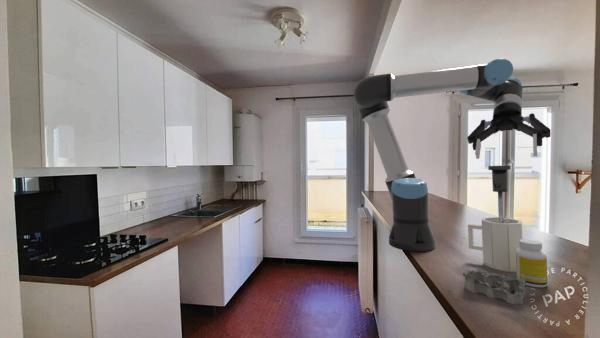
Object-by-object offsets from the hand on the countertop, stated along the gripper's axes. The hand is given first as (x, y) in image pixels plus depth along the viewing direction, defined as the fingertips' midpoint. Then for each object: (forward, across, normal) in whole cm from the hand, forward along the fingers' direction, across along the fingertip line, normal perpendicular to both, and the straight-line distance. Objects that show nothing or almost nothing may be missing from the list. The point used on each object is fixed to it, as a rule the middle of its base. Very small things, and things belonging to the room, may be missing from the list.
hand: (504, 154), depth 76 cm
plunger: (+24, 0, -9) cm, 26 cm away
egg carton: (+42, +1, -2) cm, 42 cm away
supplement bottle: (+35, -6, -9) cm, 36 cm away
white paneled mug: (+29, +2, -14) cm, 32 cm away
